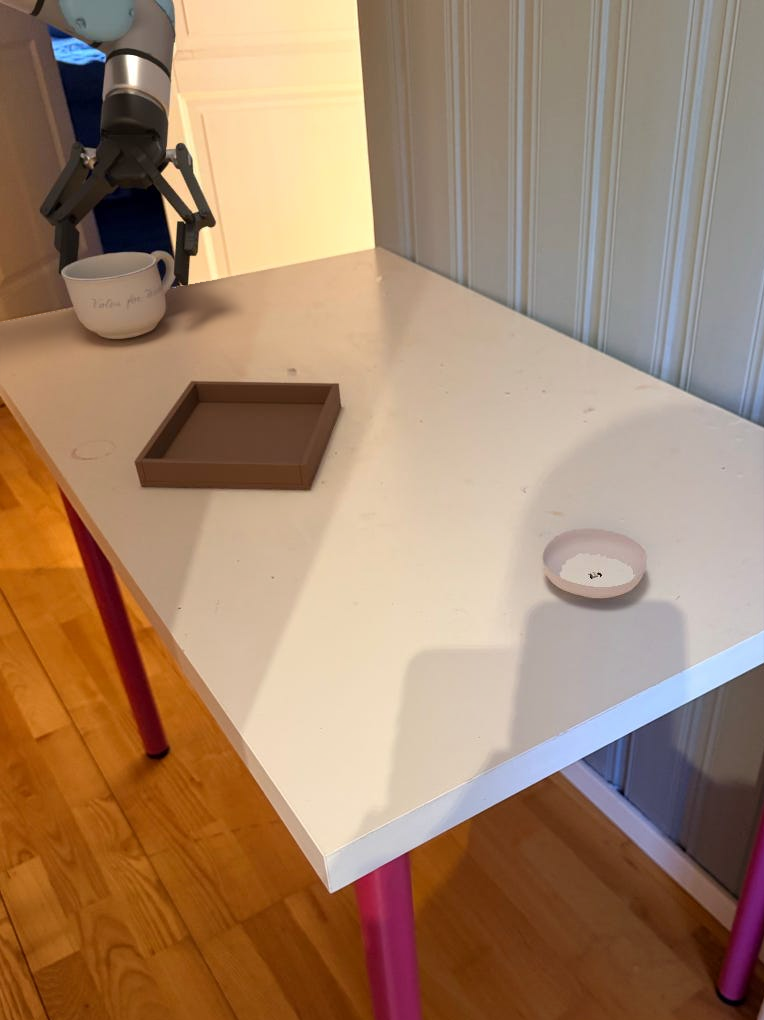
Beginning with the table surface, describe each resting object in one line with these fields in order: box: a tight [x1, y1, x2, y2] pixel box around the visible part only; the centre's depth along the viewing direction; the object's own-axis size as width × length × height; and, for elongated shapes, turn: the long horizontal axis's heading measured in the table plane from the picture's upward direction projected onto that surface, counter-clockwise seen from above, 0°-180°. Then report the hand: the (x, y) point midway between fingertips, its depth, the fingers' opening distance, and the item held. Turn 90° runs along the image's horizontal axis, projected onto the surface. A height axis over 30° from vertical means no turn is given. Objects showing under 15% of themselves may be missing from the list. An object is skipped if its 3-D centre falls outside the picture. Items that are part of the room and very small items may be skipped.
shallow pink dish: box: [542, 528, 648, 599], centre depth 70 cm, size 8×8×2 cm
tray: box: [134, 380, 342, 491], centre depth 87 cm, size 15×17×2 cm
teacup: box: [61, 250, 176, 340], centre depth 109 cm, size 14×11×8 cm
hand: (123, 279), depth 108 cm, fingers open, 13 cm apart
